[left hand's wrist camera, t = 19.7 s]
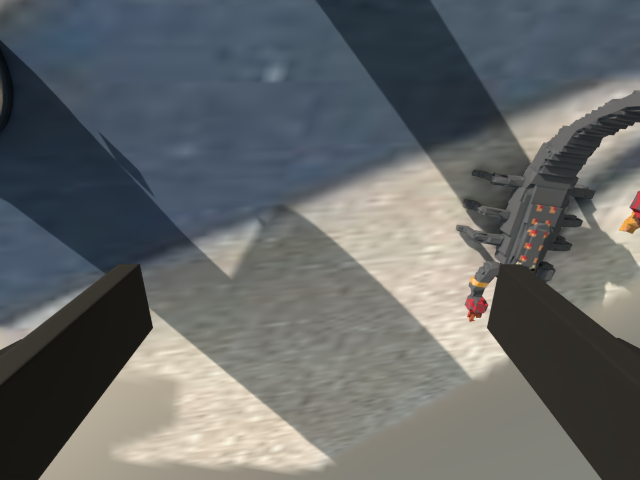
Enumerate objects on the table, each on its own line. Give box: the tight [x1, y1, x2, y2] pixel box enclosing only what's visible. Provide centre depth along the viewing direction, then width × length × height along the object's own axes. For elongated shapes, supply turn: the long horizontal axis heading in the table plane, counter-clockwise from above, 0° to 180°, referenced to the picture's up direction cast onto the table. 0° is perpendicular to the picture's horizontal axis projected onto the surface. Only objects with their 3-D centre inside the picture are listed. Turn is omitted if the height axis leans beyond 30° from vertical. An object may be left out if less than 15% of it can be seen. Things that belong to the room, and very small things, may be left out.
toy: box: [456, 91, 640, 322], centre depth 33 cm, size 13×27×18 cm, turn 172°
